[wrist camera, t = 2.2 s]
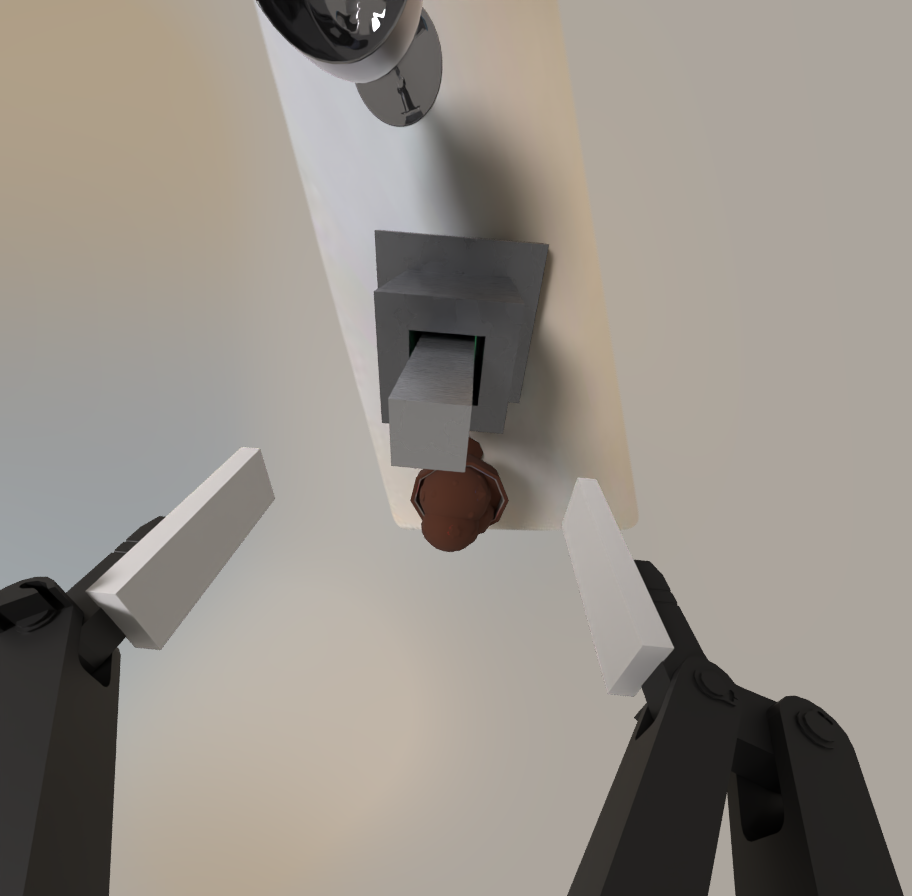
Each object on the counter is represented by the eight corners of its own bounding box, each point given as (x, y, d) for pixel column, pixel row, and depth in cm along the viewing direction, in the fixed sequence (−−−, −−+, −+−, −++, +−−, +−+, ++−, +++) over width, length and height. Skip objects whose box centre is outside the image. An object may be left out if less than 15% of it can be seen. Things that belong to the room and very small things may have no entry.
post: (435, 305, 34) (384, 395, 16) (478, 308, 34) (475, 403, 16) (433, 347, 36) (388, 467, 18) (474, 351, 36) (467, 474, 18)
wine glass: (467, 44, 25) (456, -127, 13) (412, 157, 29) (362, 108, 17) (375, -55, 23) (252, -376, 11) (328, 82, 27) (198, -39, 15)
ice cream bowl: (503, 483, 49) (510, 572, 36) (426, 483, 50) (408, 571, 37) (504, 418, 43) (514, 498, 30) (417, 420, 44) (392, 498, 31)
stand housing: (378, 230, 32) (316, 234, 20) (546, 243, 32) (586, 256, 20) (386, 385, 41) (346, 454, 29) (517, 397, 41) (533, 471, 29)
